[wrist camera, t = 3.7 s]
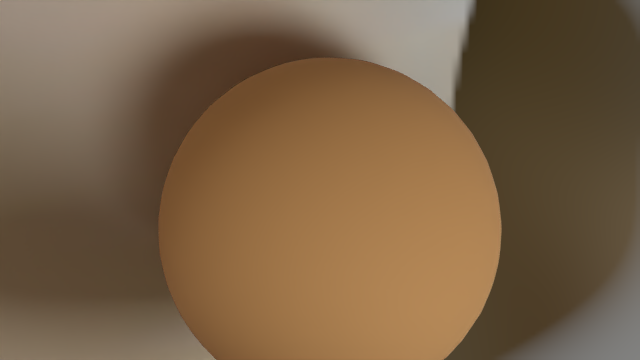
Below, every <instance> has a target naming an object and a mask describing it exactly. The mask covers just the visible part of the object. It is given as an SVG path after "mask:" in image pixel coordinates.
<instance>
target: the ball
mask: <svg viewBox="0 0 640 360" xmlns="http://www.w3.org/2000/svg"><path fill="white" fill-rule="evenodd" d="M158 230H159V252H160V257H161V262H162V266H163V271H164V275H165V279H166V283H167V286H168V289H169V291H170V293H171V296H172V298H173V300H174V303H175V305H176V307H177V309H178V311H179V313H180V315H181V317H182V318H183V320H184V321H185V323H186V324H187V326H188V327H189V329H190V330H191V332H192V333H193V334H194V336H195V337H196V338H197V339H198V341H199V342H200V343H201V344H202V345H203V346H204V347H205V348H206V349H207V350H208V352H209V353H210V354H211V355H212V356H213V357H214V358H215V359H216V360H443V359H445V358H446V357H447V356H448V355H449V354H450V353H451V352H452V351H453V350H454V349H455V347H456V346H457V345H458V344H459V343H460V342H461V341H462V340H463V338H464V337H465V335H466V334H467V333H468V331H469V329H470V328H471V327H472V325H473V324H474V322H475V320H476V319H477V318H478V316H479V315H480V313H481V311H482V309H483V307H484V304H485V302H486V300H487V297H488V295H489V293H490V290H491V287H492V285H493V282H494V278H495V274H496V270H497V266H498V261H499V254H500V245H501V244H500V243H501V217H500V208H499V201H498V194H497V190H496V187H495V184H494V180H493V177H492V174H491V171H490V168H489V165H488V162H487V160H486V158H485V156H484V154H483V153H482V151H481V149H480V147H479V145H478V143H477V142H476V140H475V138H474V136H473V135H472V133H471V132H470V131H469V129H468V128H467V127H466V125H465V124H464V123H463V121H462V120H461V119H460V118H459V117H458V116H457V114H456V113H455V112H454V111H453V110H452V109H451V108H450V107H449V106H448V105H447V104H446V103H445V102H443V101H442V100H441V99H440V98H439V97H438V96H436V95H435V94H434V93H433V92H432V91H431V90H429V89H428V88H426V87H424V86H423V85H421V84H420V83H418V82H416V81H414V80H413V79H411V78H409V77H408V76H406V75H404V74H402V73H400V72H397V71H395V70H392V69H389V68H386V67H383V66H380V65H377V64H374V63H371V62H367V61H362V60H356V59H346V58H310V59H303V60H297V61H292V62H288V63H284V64H281V65H278V66H275V67H272V68H270V69H267V70H265V71H262V72H260V73H258V74H255V75H253V76H251V77H249V78H247V79H245V80H244V81H242V82H240V83H239V84H237V85H236V86H234V87H233V88H231V89H230V90H229V91H228V92H226V93H225V94H224V95H222V96H221V97H220V98H219V99H218V100H216V101H215V102H214V103H213V104H212V105H211V106H210V107H209V108H208V109H207V110H206V111H205V112H204V113H203V114H202V115H201V117H200V118H199V119H198V120H197V121H196V123H195V124H194V125H193V126H192V128H191V129H190V130H189V132H188V133H187V135H186V136H185V138H184V140H183V142H182V144H181V145H180V147H179V149H178V151H177V153H176V155H175V156H174V158H173V161H172V163H171V166H170V169H169V172H168V175H167V178H166V181H165V184H164V187H163V192H162V197H161V203H160V211H159V218H158Z"/></svg>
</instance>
